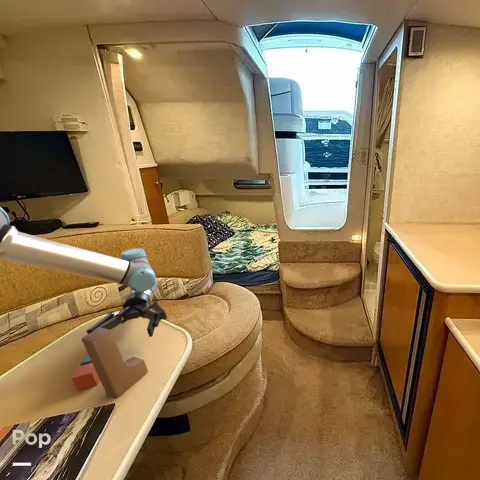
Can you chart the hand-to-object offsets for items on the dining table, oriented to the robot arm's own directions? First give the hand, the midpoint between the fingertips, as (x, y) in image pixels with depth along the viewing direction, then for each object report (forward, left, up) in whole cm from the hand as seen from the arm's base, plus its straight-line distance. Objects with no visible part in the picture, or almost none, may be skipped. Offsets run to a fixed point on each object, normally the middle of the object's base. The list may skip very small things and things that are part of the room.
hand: (121, 340), depth 74 cm
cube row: (-11, +2, -10) cm, 16 cm away
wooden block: (+2, -5, -11) cm, 12 cm away
